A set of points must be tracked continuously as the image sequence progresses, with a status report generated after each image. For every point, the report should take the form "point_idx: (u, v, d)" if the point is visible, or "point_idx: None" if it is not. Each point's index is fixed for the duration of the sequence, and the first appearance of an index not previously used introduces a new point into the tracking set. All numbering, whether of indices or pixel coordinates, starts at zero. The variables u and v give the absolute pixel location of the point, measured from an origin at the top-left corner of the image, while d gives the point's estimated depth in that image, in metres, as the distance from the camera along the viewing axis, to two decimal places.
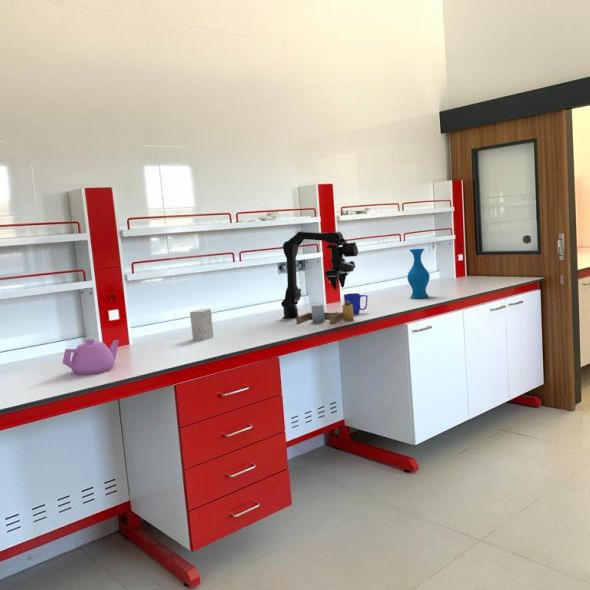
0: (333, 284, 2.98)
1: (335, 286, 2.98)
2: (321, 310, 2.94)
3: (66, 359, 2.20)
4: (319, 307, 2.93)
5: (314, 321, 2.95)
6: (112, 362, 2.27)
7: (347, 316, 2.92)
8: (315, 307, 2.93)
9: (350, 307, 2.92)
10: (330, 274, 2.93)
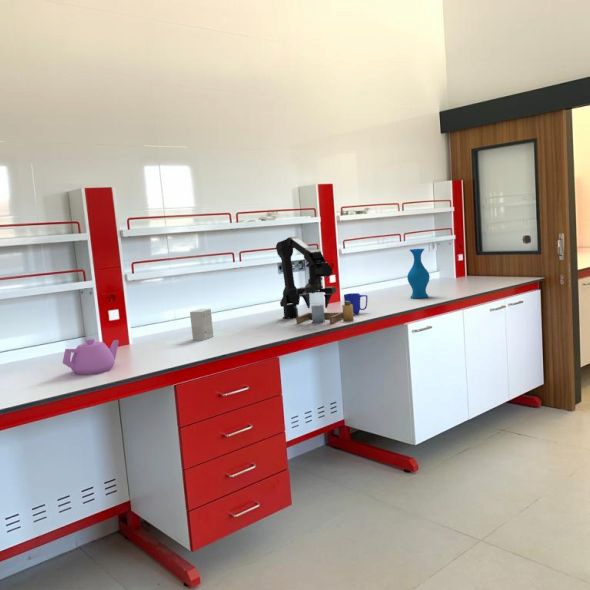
0: None
1: None
2: (321, 310, 2.94)
3: (66, 359, 2.20)
4: (319, 307, 2.93)
5: (314, 321, 2.95)
6: (112, 362, 2.27)
7: (347, 316, 2.92)
8: (315, 307, 2.93)
9: (350, 307, 2.92)
10: None
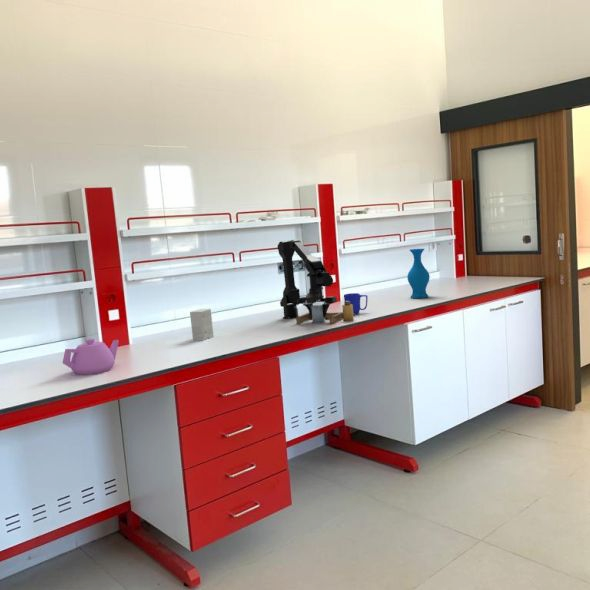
0: None
1: None
2: (321, 310, 2.94)
3: (66, 359, 2.20)
4: (319, 307, 2.93)
5: (314, 321, 2.95)
6: (112, 362, 2.27)
7: (347, 316, 2.92)
8: (315, 307, 2.93)
9: (350, 307, 2.92)
10: None
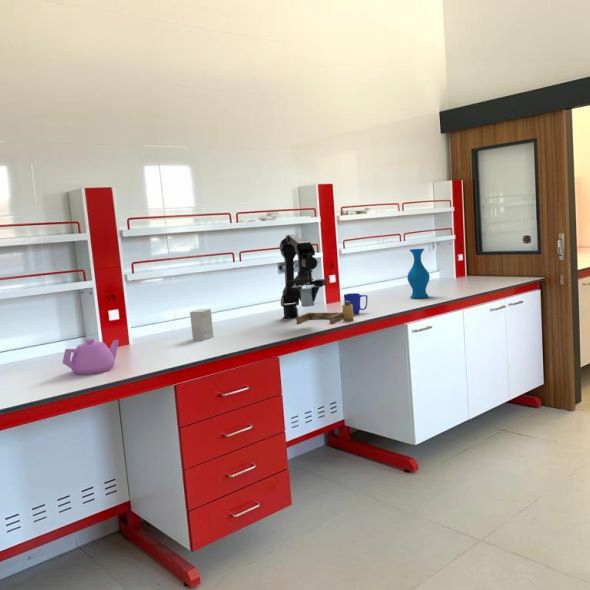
0: None
1: None
2: (310, 293, 2.83)
3: (66, 359, 2.20)
4: (308, 290, 2.82)
5: (303, 305, 2.84)
6: (112, 362, 2.27)
7: (347, 316, 2.92)
8: (304, 290, 2.83)
9: (350, 307, 2.92)
10: None
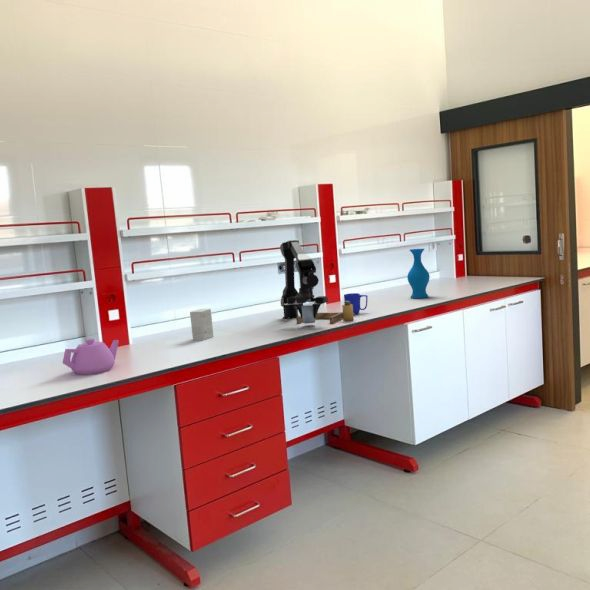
0: None
1: None
2: (311, 310, 2.84)
3: (66, 359, 2.20)
4: (309, 307, 2.83)
5: (304, 322, 2.85)
6: (112, 362, 2.27)
7: (347, 316, 2.92)
8: (305, 307, 2.84)
9: (350, 307, 2.92)
10: None
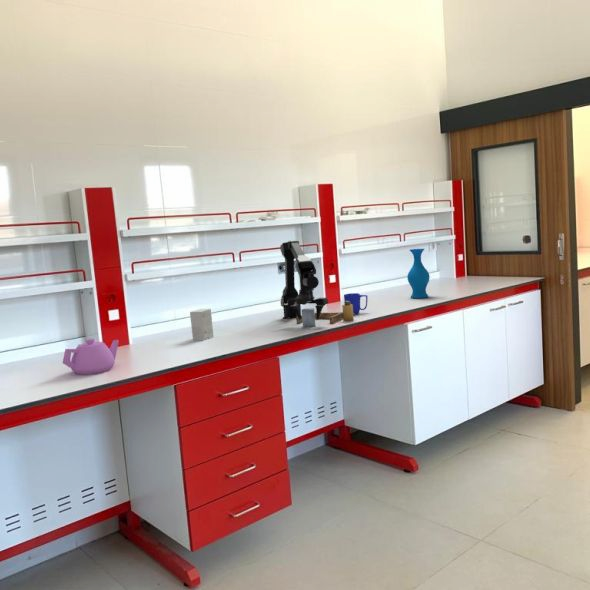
0: None
1: None
2: (312, 314, 2.84)
3: (66, 359, 2.20)
4: (309, 311, 2.84)
5: (304, 325, 2.85)
6: (112, 362, 2.27)
7: (347, 316, 2.92)
8: (305, 311, 2.84)
9: (350, 307, 2.92)
10: None
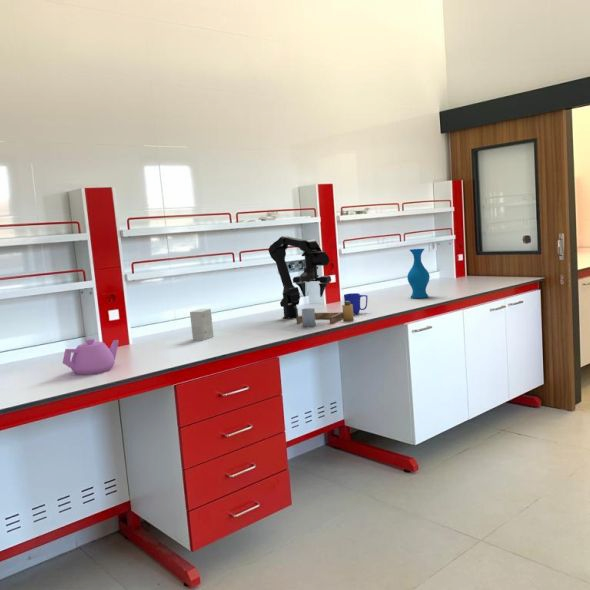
0: None
1: None
2: (312, 314, 2.84)
3: (66, 359, 2.20)
4: (310, 311, 2.84)
5: (304, 325, 2.85)
6: (112, 362, 2.27)
7: (347, 316, 2.92)
8: (305, 311, 2.84)
9: (350, 307, 2.92)
10: None
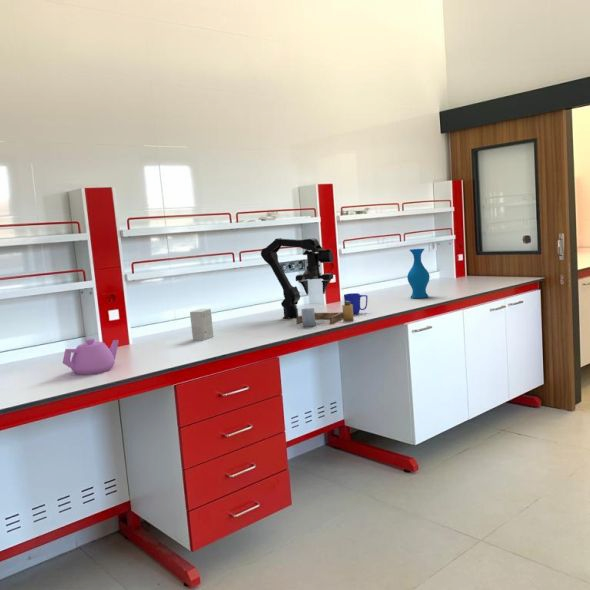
0: None
1: None
2: (311, 314, 2.84)
3: (66, 359, 2.20)
4: (309, 311, 2.84)
5: (304, 325, 2.85)
6: (112, 362, 2.27)
7: (347, 316, 2.92)
8: (305, 311, 2.84)
9: (350, 307, 2.92)
10: None
